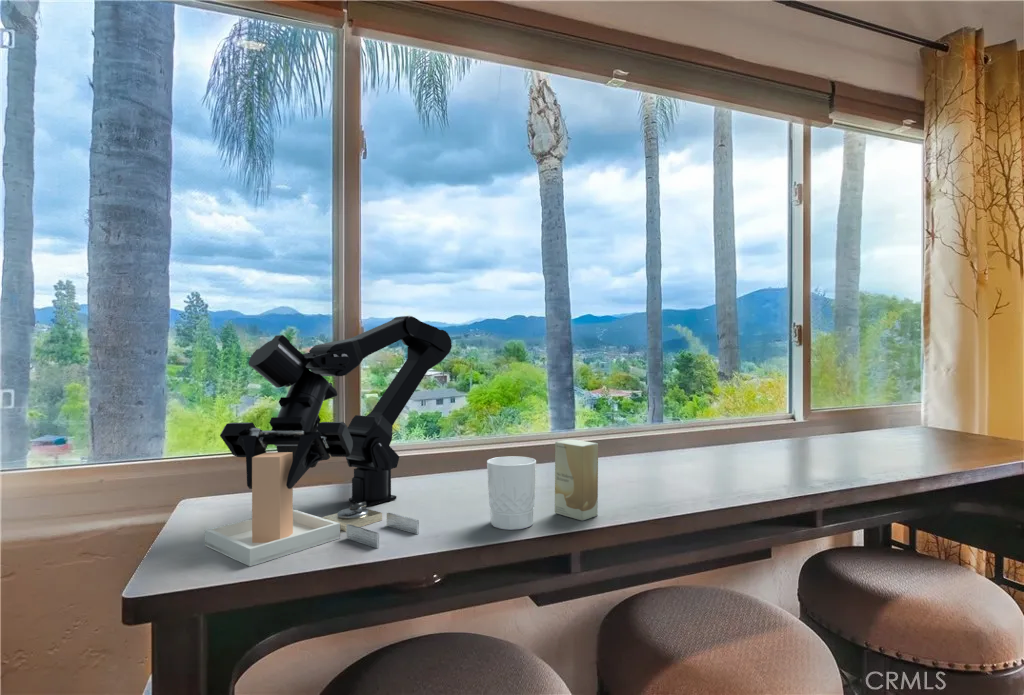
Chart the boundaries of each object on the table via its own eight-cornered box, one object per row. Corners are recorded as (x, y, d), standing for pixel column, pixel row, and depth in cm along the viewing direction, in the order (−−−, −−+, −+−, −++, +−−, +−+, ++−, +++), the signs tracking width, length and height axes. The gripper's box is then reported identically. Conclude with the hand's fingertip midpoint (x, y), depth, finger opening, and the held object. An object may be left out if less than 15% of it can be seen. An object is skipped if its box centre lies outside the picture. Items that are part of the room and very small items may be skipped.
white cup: (547, 523, 83) (546, 460, 83) (511, 535, 78) (510, 467, 78) (512, 513, 89) (512, 454, 89) (477, 523, 83) (476, 460, 84)
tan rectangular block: (266, 533, 78) (266, 452, 78) (292, 533, 78) (292, 452, 78) (252, 542, 74) (252, 457, 74) (279, 542, 74) (279, 457, 74)
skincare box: (553, 513, 88) (552, 441, 89) (570, 508, 91) (568, 438, 92) (584, 521, 84) (582, 445, 84) (600, 516, 87) (598, 442, 87)
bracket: (359, 514, 89) (359, 494, 89) (424, 531, 80) (424, 509, 80) (312, 527, 82) (312, 506, 82) (376, 548, 73) (376, 524, 73)
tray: (291, 522, 85) (291, 508, 85) (340, 538, 77) (340, 523, 77) (204, 545, 74) (204, 530, 75) (250, 566, 66) (250, 549, 67)
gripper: (369, 433, 91) (347, 516, 80) (265, 434, 92) (228, 516, 80) (354, 390, 83) (327, 475, 72) (240, 392, 84) (195, 475, 73)
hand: (268, 487), depth 75 cm, fingers open, 5 cm apart
